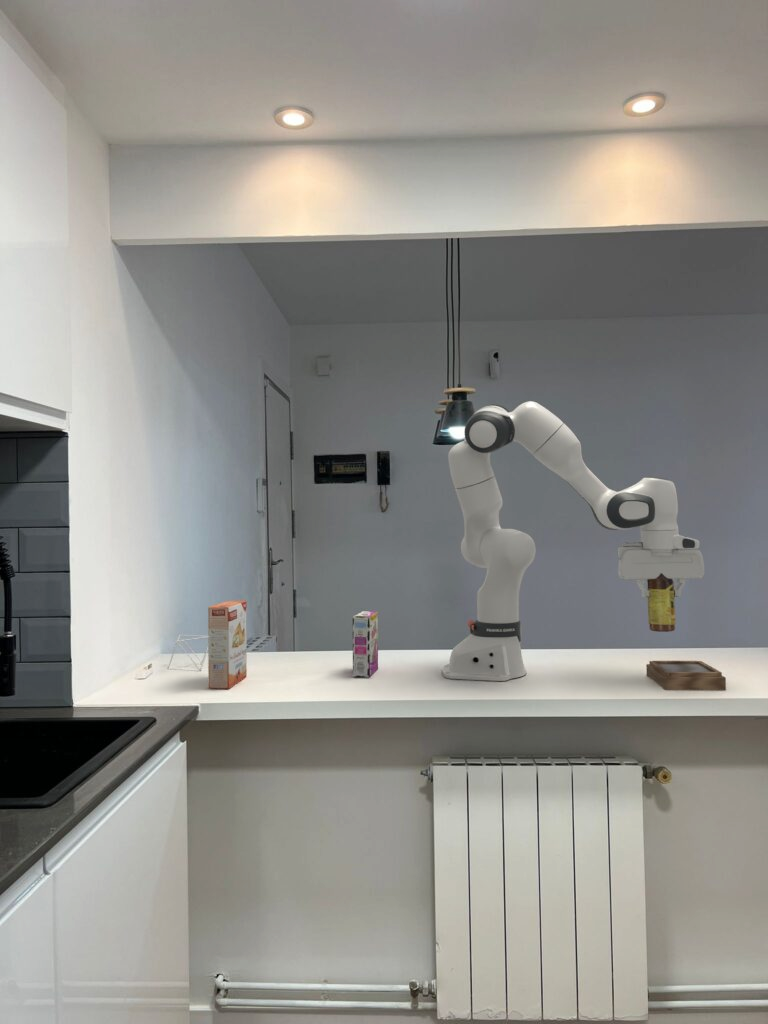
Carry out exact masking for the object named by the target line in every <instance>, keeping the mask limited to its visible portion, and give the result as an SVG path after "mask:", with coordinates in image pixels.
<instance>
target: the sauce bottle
mask: <svg viewBox="0 0 768 1024" xmlns="http://www.w3.org/2000/svg"><path fill="white" fill-rule="evenodd" d="M646 582H647V589H646V590H649V591H650V593H649V595H650V597H647V612H648V614H647V615H648V624H649V630H650V631H652V632H658V633H661V632H663V633H664V632H665V633H668V632H669V633H670V632H674V631H675V630H676V607H675V605H676V604H675V601H676V600H675V597H674V589H675V586H674V585H675V584H674V583H675V582H674V580H673V579H669V578H667V577H665V576H664V575H663V574H662V573H661V574H660V575H659V576H658V577H657V578H655V579H646Z"/></svg>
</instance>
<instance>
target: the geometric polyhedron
mask: <svg viewBox="0 0 768 1024" xmlns="http://www.w3.org/2000/svg"><path fill="white" fill-rule="evenodd" d="M182 636H183V637H184V636H185V637H194V638H189V639H188V638H187V639H184V638H183V637H182ZM180 638H181V640H180ZM206 638H207V639H208V635H205V636H204V635H202V634H201V635H200V634H199V635H197V634H179V635H178V638H177V639H176V642H175V646H174V649H173V652H172V655H171V657H170V660H169V664H168V667H167V670H171V671H174V670H175V671H184V669H182V668H183V667H189V666H196V668H197V669H187V671H190V672H191V671H192V672H201V671H202V669H203V667H204V664H205V663H204V662H205V659H206V657H207V655H208V654H207V653H208V646H206V647H207V648H206V649H205V652H204V655H203V658H202V661H201V659H200V658H199V657H198V655H196V653H195V652H194V650H193V649H192V648H191V646H189V644H188V643H187V642H186V641H192V640H193V641H194V640H197V639H198V640H199V639H206ZM180 642H184V643H185V644H186V646H187V647H188V648H189V650H191V651H192V653H193V654H194V656H195V657H196V658H197V659H198V661H199V663H196V662H195V661H194V660H193V659H192V657H191V656H190V655H189V654H188V652H187V651H186V649H185V648H184V647H183V646H182V645H181V643H180ZM177 645H179V646H180V647H181V648H182V650H183V651H184V652H185V654H186V655H187V656H188V657H189V659H190V660H191V661H192V664H186V665H182V666H181V665H180V666H175V667H170V666H171V663H172V660H173V658H174V657H173V656H175V655H174V654H175V651H176V648H177ZM197 665H200V668H199V666H197ZM177 668H178V669H177ZM180 668H181V669H180Z"/></svg>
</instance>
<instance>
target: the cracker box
mask: <svg viewBox="0 0 768 1024" xmlns="http://www.w3.org/2000/svg"><path fill="white" fill-rule="evenodd" d="M207 609H208V610H207V613H208V616H207V617H208V618H207V620H208V623H207V629H208V630H207V631H208V632H207V633H208V635H207V636H208V637H207V639H208V644H207V647H208V651H207V653H208V654H207V655H208V656H207V657H208V659H207V660H208V663H207V664H208V667H207V669H208V671H207V672H208V673H207V674H208V675H207V676H208V677H207V678H208V689H212V690H213V689H214V690H218V689H219V690H230V689H231V688H232V687H234V686H235V685H237V684H238V683H240V682H241V681H242V680H244V679H246V678H247V677H248V674H247V671H248V669H247V663H248V662H247V656H248V655H247V647H248V646H247V642H248V641H247V601H246V600H226V601H223V602H221V603H219V602H218V603H216V604H213V605H210V606H208V608H207Z"/></svg>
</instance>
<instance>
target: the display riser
mask: <svg viewBox="0 0 768 1024" xmlns="http://www.w3.org/2000/svg"><path fill="white" fill-rule="evenodd" d="M645 667H646V676H647V678H649V679H650V680H652V681H653V682H654V683H656V685H658V686H660V687H661V688H662V689H664V690H665V691H727V686H726V685H727V683H726V682H727V680H726V677H725V676H723V673H722V672H721V671H720V670H719V669H716V668H715V667H712V666H711V665H709V664H707V663H705V662H704V661H702V660H649V662H648V663H646V665H645Z"/></svg>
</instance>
